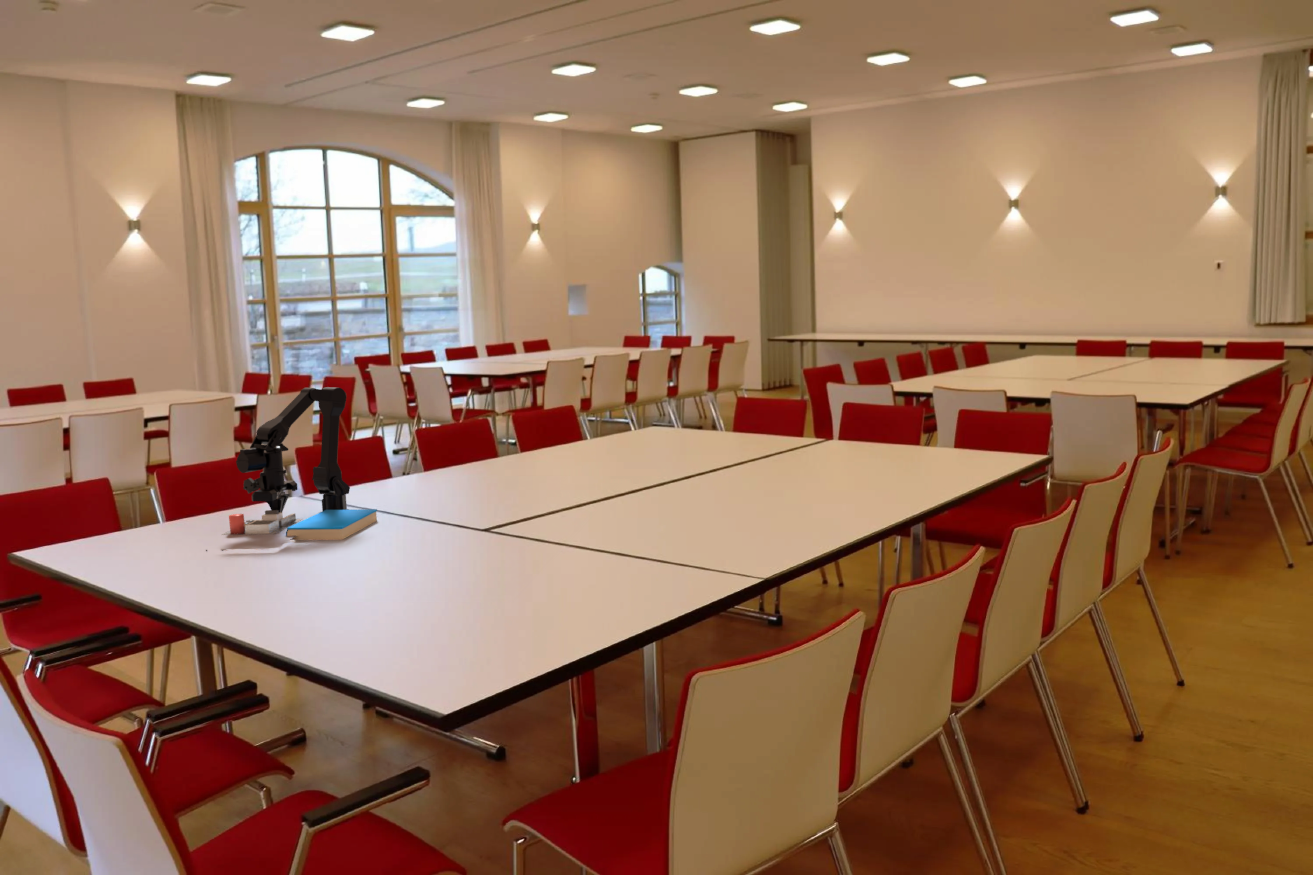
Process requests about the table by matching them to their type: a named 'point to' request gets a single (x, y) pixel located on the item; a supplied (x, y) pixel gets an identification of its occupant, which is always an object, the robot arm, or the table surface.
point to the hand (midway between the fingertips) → (277, 519)
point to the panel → (267, 525)
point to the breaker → (272, 515)
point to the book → (332, 524)
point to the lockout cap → (236, 523)
